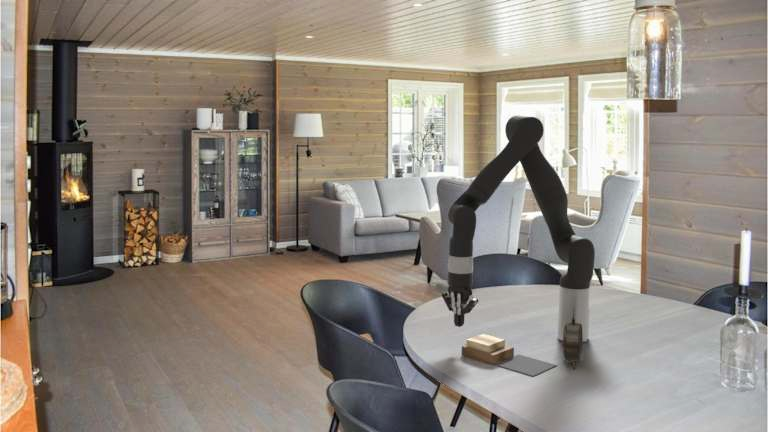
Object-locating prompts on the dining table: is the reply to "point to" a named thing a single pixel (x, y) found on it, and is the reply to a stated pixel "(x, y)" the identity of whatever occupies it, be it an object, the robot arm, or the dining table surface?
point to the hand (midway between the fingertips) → (458, 325)
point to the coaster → (485, 343)
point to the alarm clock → (573, 342)
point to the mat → (525, 365)
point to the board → (488, 354)
